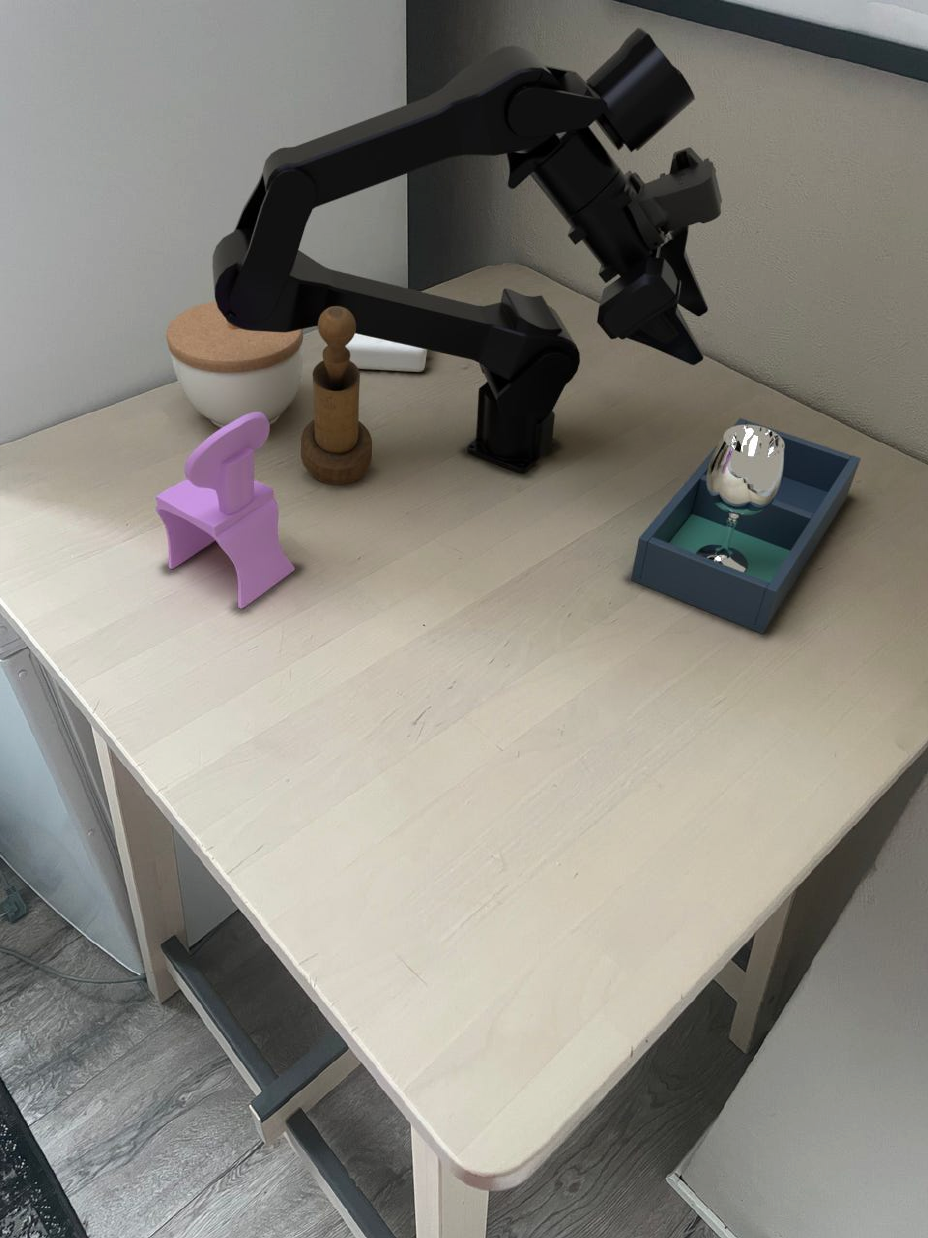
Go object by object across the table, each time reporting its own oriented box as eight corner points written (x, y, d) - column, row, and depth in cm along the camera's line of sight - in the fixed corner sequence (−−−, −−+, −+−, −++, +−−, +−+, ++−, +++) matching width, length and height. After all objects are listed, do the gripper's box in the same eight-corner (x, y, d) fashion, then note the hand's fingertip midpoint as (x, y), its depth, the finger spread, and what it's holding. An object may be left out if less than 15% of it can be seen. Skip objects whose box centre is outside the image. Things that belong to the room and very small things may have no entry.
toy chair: (228, 523, 89) (205, 368, 79) (303, 563, 86) (290, 406, 76) (155, 571, 84) (120, 412, 74) (232, 616, 81) (207, 455, 71)
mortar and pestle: (288, 467, 95) (278, 323, 79) (320, 419, 98) (318, 271, 82) (352, 495, 94) (356, 355, 78) (383, 445, 97) (393, 302, 81)
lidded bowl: (196, 457, 97) (178, 350, 89) (168, 392, 105) (150, 289, 97) (325, 432, 101) (318, 328, 93) (288, 371, 109) (279, 271, 101)
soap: (428, 349, 114) (428, 324, 112) (424, 374, 110) (425, 348, 108) (346, 345, 114) (345, 319, 112) (340, 369, 110) (339, 344, 108)
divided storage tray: (630, 580, 86) (638, 537, 83) (729, 457, 100) (739, 417, 97) (762, 634, 82) (776, 591, 79) (846, 498, 96) (860, 457, 93)
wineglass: (746, 591, 84) (783, 469, 76) (679, 570, 86) (708, 449, 78) (762, 552, 88) (798, 432, 80) (697, 533, 90) (726, 413, 82)
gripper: (665, 167, 72) (786, 333, 78) (681, 91, 86) (783, 238, 92) (544, 261, 78) (664, 409, 84) (576, 177, 92) (678, 309, 98)
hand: (701, 336), depth 89 cm, fingers open, 9 cm apart
